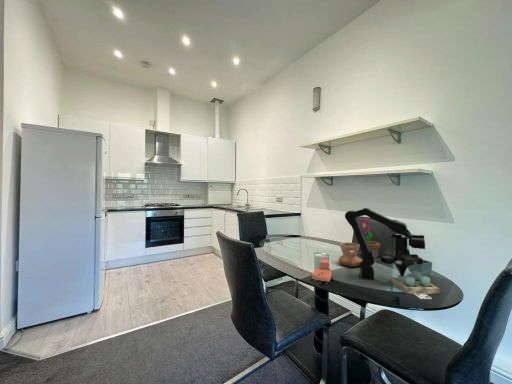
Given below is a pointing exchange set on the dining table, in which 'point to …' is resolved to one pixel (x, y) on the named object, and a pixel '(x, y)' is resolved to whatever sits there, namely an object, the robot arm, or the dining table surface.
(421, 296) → the card
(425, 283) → the button
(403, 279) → the button
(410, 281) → the button
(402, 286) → the board
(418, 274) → the button
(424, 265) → the flower pot
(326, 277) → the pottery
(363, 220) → the flowerpot
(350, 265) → the ceramic jug
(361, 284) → the dining table surface
